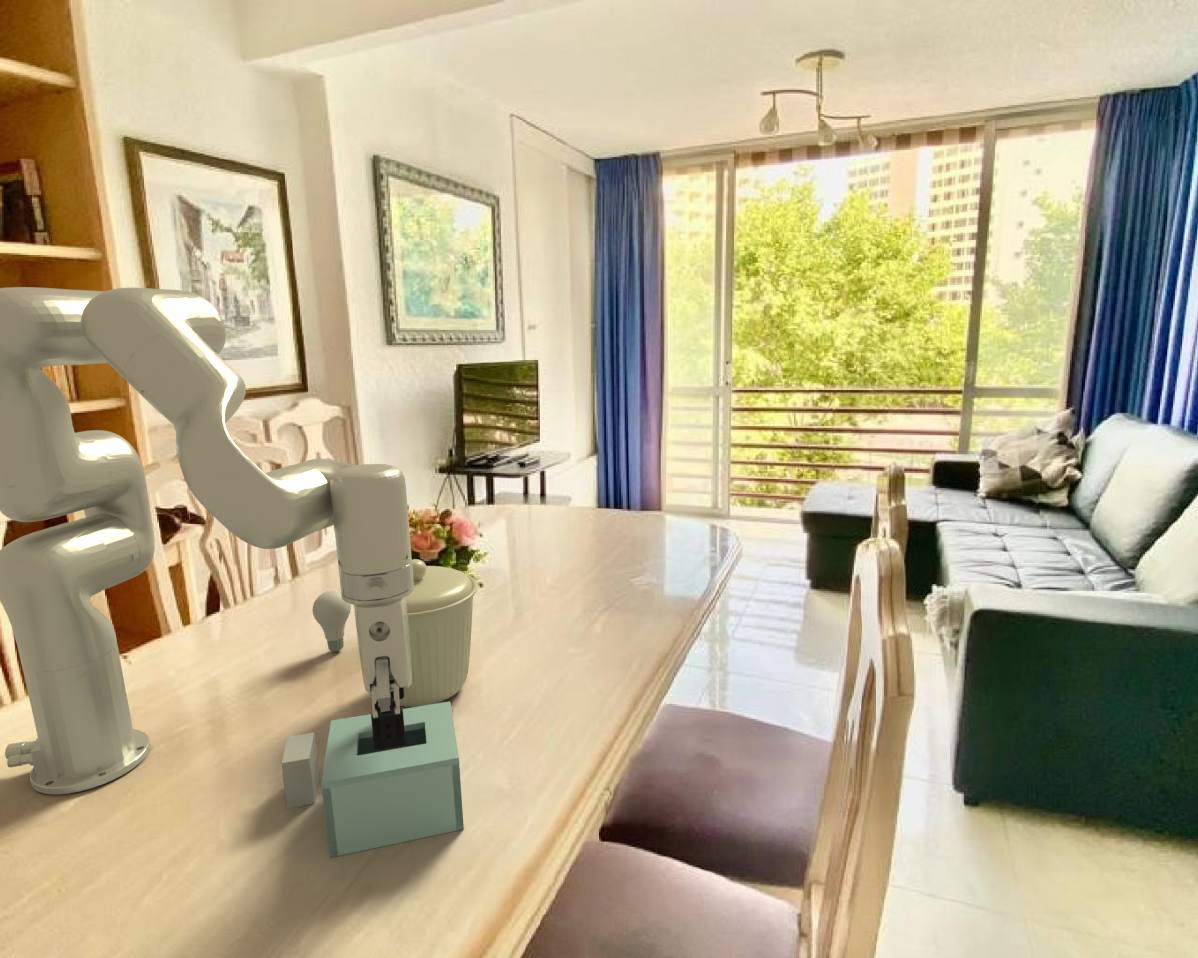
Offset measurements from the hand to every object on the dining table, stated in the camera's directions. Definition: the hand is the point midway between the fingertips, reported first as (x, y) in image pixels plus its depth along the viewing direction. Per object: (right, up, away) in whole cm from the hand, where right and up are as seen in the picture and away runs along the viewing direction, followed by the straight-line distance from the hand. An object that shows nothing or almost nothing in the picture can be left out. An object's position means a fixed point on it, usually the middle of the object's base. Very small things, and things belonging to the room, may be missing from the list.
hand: (390, 721), depth 78 cm
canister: (-3, -5, +28) cm, 29 cm away
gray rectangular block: (-12, -10, +6) cm, 17 cm away
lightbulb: (-22, -3, +42) cm, 47 cm away
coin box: (0, -11, +2) cm, 11 cm away
